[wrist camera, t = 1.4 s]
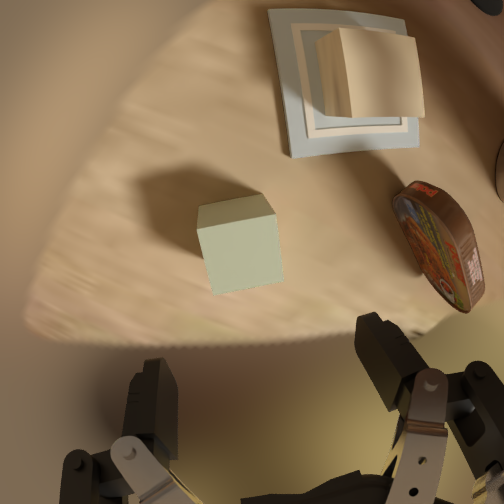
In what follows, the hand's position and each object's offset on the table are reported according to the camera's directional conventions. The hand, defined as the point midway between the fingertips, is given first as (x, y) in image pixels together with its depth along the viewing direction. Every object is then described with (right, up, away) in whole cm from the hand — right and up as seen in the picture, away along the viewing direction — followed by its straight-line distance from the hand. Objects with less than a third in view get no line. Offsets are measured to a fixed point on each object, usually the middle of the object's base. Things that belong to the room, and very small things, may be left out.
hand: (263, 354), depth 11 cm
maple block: (+7, +17, +7) cm, 20 cm away
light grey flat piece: (+7, +18, +8) cm, 21 cm away
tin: (+16, +6, +15) cm, 23 cm away
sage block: (-2, +6, +12) cm, 14 cm away
